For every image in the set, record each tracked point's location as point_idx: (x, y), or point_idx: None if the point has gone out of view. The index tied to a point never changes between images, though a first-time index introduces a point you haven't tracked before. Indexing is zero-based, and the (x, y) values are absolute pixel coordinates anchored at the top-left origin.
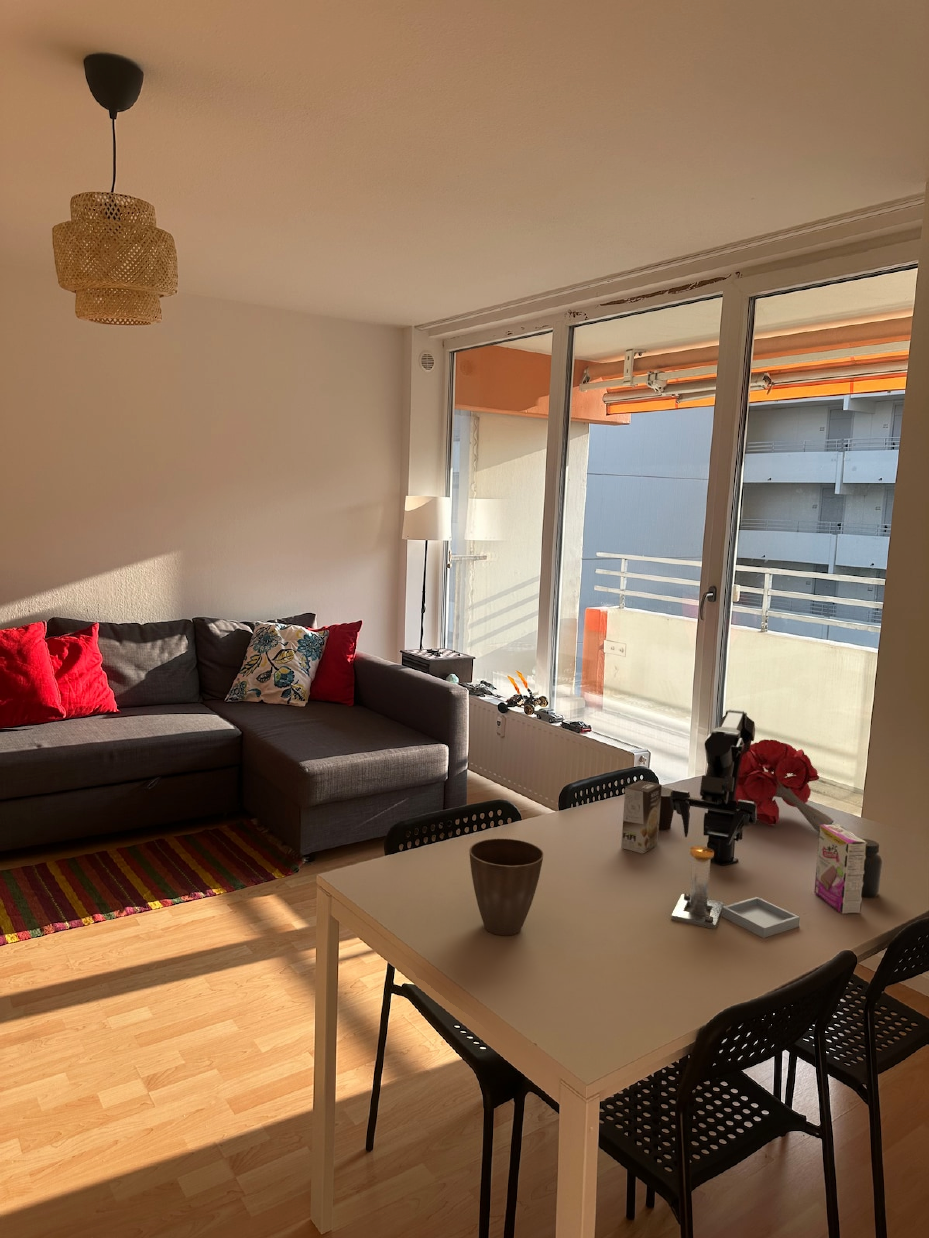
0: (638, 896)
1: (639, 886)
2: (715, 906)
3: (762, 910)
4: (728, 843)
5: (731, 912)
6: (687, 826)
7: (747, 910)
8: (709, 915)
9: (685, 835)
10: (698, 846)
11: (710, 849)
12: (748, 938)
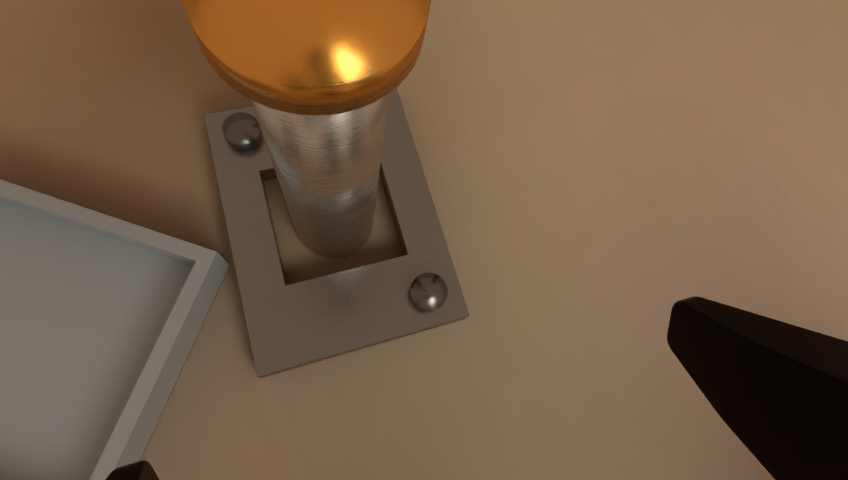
0: (601, 200)
1: (663, 298)
2: (274, 295)
3: (38, 464)
4: (128, 465)
5: (159, 233)
6: (781, 352)
7: (119, 395)
8: (260, 181)
9: (679, 301)
10: (389, 51)
11: (245, 50)
12: (51, 136)
